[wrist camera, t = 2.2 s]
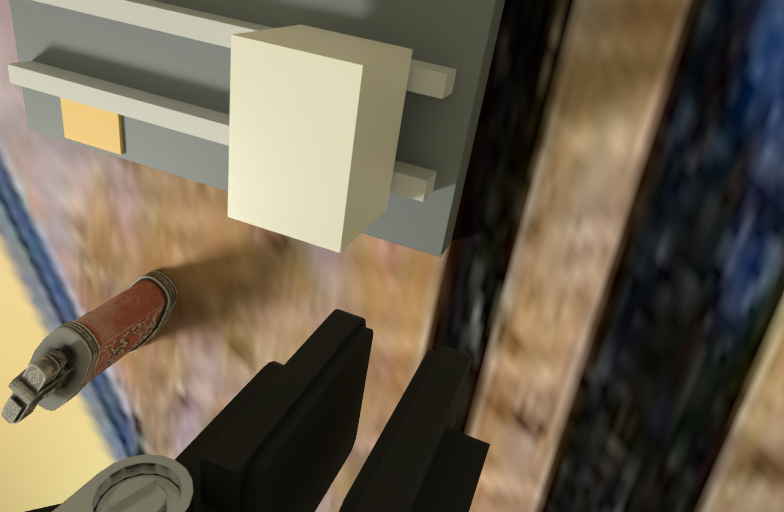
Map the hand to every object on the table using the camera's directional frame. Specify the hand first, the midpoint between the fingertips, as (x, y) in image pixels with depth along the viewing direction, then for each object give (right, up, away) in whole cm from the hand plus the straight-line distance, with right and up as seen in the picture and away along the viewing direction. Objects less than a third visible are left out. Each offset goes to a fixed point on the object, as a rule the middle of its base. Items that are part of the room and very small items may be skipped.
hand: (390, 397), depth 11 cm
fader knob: (-1, +9, +16) cm, 19 cm away
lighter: (-17, -1, +31) cm, 35 cm away
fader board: (-8, +12, +20) cm, 25 cm away
